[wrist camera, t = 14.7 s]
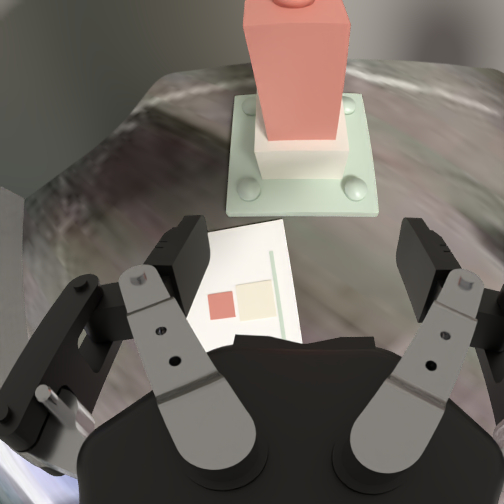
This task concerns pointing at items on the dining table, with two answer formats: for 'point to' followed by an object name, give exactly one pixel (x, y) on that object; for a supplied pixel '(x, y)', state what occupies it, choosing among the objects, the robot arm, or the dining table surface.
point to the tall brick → (298, 65)
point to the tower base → (300, 191)
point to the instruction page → (246, 287)
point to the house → (11, 282)
